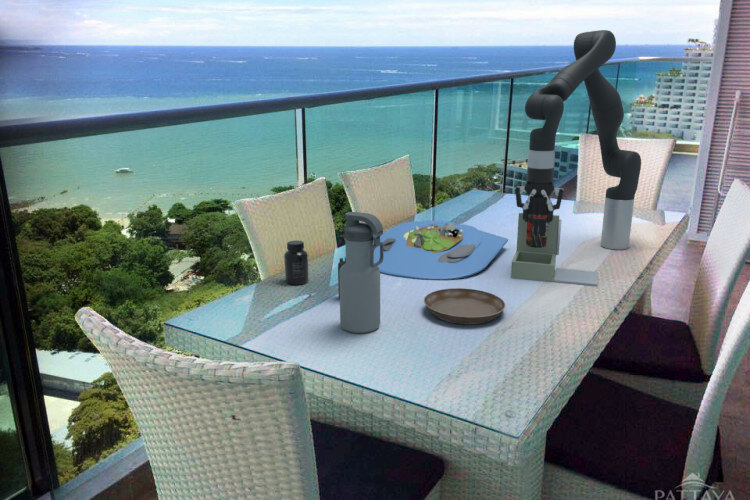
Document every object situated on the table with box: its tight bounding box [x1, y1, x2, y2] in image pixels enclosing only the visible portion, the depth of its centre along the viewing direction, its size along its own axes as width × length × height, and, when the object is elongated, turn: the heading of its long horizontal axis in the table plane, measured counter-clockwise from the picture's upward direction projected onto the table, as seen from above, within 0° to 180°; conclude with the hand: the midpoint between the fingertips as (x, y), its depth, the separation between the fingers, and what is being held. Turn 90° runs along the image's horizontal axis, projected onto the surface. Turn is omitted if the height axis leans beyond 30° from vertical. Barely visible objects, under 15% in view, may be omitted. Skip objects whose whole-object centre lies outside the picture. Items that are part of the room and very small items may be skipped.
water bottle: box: [339, 211, 384, 334], centre depth 151 cm, size 10×10×28 cm
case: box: [510, 212, 562, 283], centre depth 191 cm, size 13×13×17 cm
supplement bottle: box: [283, 240, 310, 286], centre depth 185 cm, size 7×7×12 cm
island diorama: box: [373, 220, 509, 281], centre depth 208 cm, size 45×43×12 cm
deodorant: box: [526, 195, 551, 248], centre depth 188 cm, size 6×6×15 cm
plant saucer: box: [423, 287, 506, 325], centre depth 163 cm, size 21×21×3 cm
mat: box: [553, 267, 599, 287], centre depth 189 cm, size 12×12×1 cm
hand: (537, 221), depth 188 cm, fingers closed on deodorant, 6 cm apart
